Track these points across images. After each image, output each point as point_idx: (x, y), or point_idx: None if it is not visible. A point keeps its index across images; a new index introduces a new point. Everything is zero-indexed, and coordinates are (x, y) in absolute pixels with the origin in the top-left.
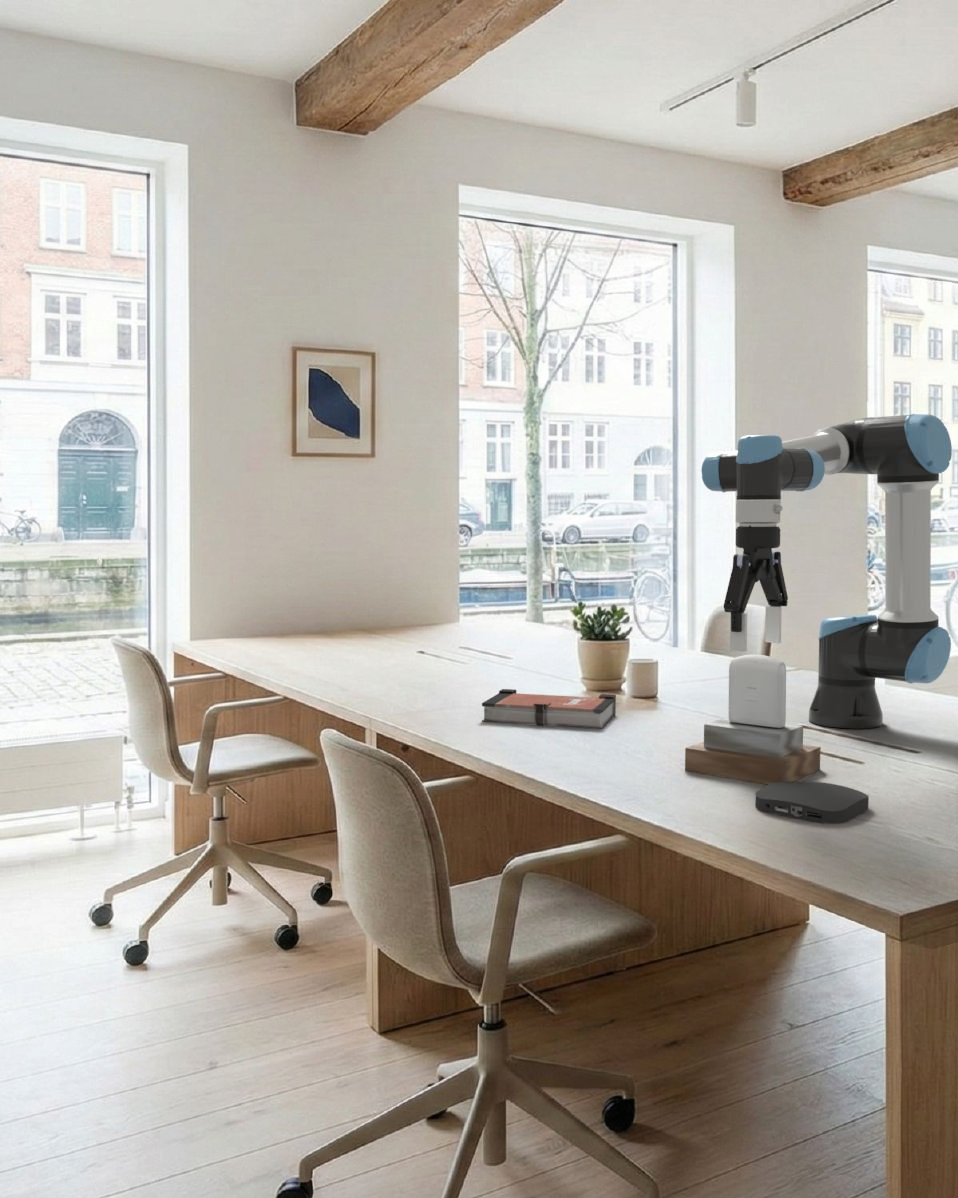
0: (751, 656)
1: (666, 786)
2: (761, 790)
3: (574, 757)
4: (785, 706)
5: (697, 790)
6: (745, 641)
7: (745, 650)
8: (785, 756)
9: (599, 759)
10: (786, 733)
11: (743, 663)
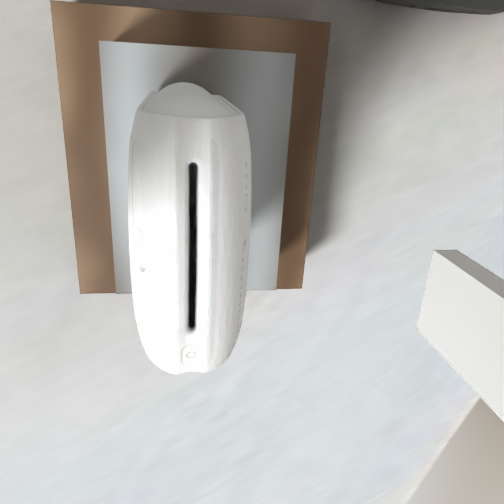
0: (219, 290)
1: (426, 231)
2: (500, 2)
3: (309, 450)
4: (150, 95)
5: (428, 170)
6: (486, 274)
7: (450, 252)
8: (247, 46)
9: (298, 417)
10: (238, 50)
11: (242, 298)
